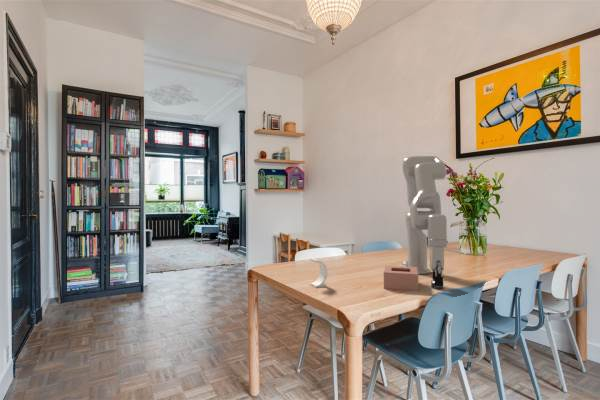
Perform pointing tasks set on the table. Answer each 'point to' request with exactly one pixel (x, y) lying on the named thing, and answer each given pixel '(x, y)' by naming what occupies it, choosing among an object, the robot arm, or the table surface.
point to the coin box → (401, 278)
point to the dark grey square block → (435, 286)
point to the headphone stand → (322, 276)
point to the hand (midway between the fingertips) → (437, 282)
